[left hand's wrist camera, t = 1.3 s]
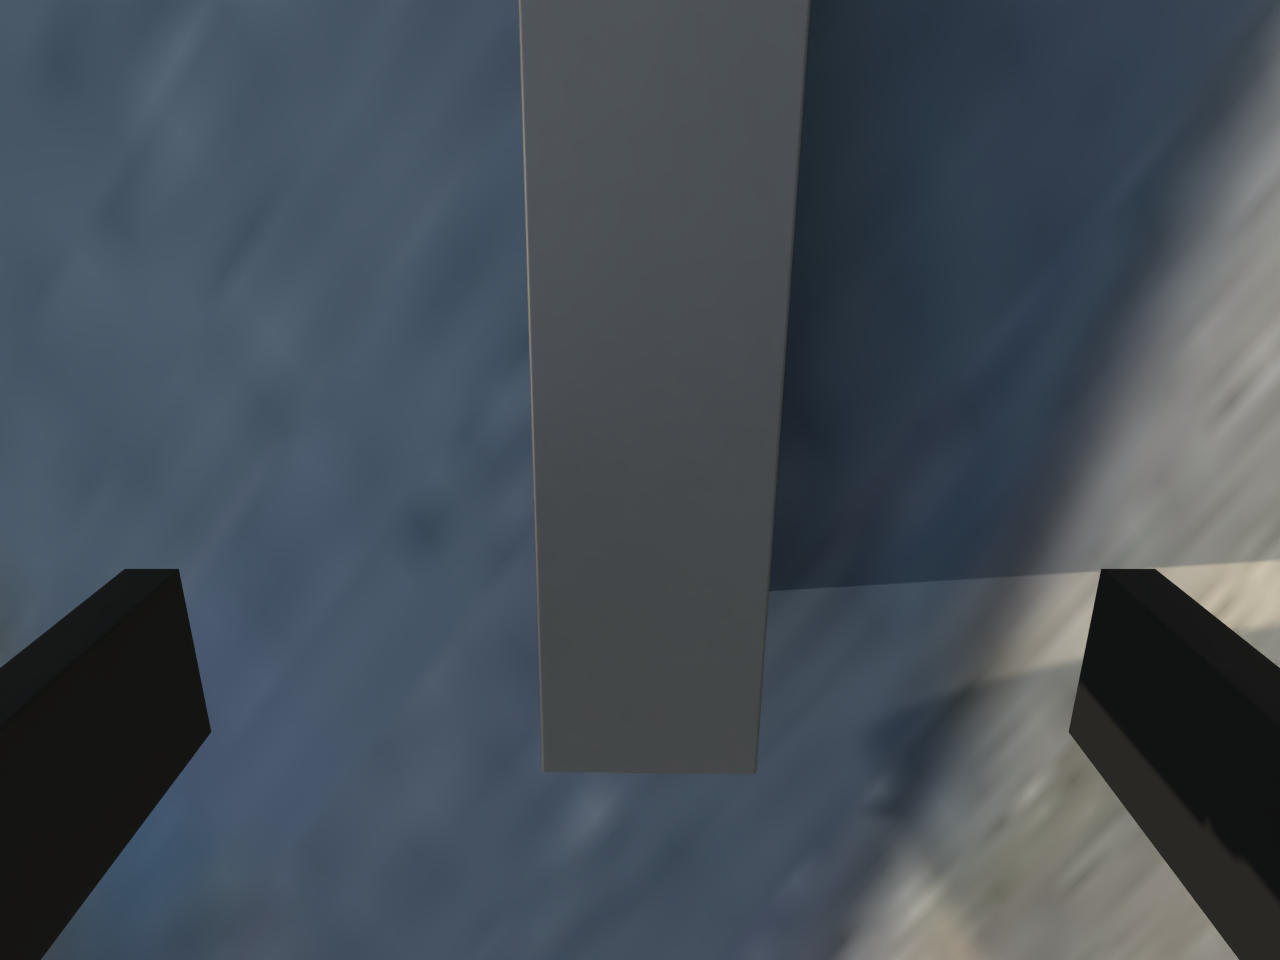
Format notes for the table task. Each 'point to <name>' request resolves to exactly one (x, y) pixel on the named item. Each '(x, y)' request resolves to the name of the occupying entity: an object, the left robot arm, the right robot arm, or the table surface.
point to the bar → (657, 366)
